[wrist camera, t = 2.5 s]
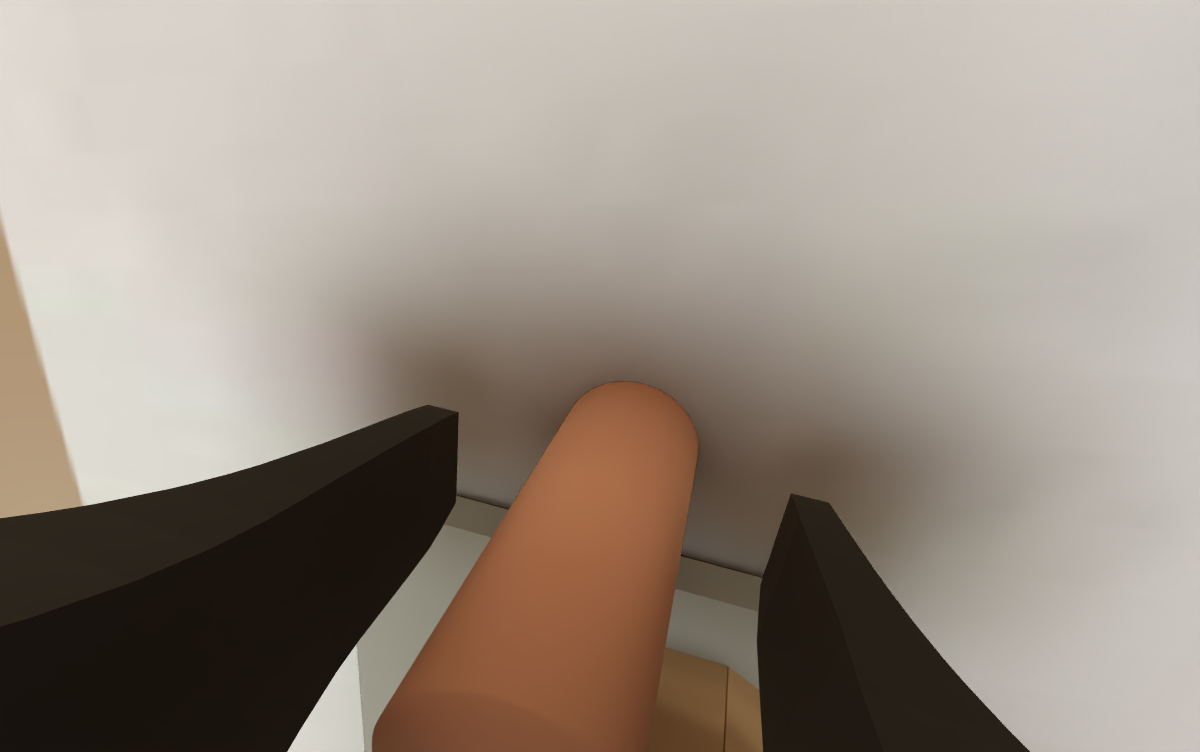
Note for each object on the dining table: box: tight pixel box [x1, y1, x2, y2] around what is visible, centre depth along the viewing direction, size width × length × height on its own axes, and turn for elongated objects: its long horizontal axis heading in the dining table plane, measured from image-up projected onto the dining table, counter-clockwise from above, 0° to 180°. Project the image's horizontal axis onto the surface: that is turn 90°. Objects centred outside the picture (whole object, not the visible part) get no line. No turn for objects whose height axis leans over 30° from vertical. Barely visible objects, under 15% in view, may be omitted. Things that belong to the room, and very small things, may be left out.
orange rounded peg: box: [372, 382, 698, 752], centre depth 9 cm, size 3×3×7 cm
